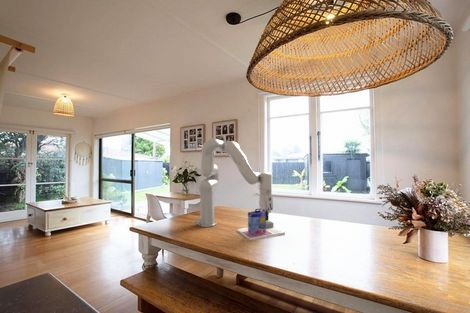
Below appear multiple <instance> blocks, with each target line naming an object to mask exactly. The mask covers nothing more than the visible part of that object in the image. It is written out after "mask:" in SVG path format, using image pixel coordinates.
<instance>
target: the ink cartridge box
mask: <svg viewBox="0 0 470 313" xmlns="http://www.w3.org/2000/svg"><path fill="white" fill-rule="evenodd" d="M247 228H248V233H250V234H251V235H256V234H262V233H266V212H264V211H262V210H261V208H260V207H259V208H255V210H253V211H248V212H247Z"/></svg>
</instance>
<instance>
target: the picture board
mask: <svg viewBox="0 0 470 313" xmlns="http://www.w3.org/2000/svg"><path fill="white" fill-rule="evenodd" d="M269 221H270V220H269ZM270 222H271V223H266V233H262V234H256V235H251V234H250V233H248V227H242V228H241V227H240V228H237V229H236V232H238V233H239V234H241V235H242V237H243V236H244V237H245V238H246V239H247V240H250V241H254V240H255V241H256V240H260V239H266V238H265V237H267V238H272V237H277V236H276V235H278V236H282V235H281V234H283V235H286V232H285V231H283V230H281V229H279V228H277V227H274V222H273V221H270ZM271 236H272V237H271Z"/></svg>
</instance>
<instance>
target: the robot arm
mask: <svg viewBox="0 0 470 313" xmlns="http://www.w3.org/2000/svg"><path fill="white" fill-rule="evenodd" d="M214 152H220V153H221V152H222V153H225V154H228V156H229V157H230V159H231V160H232V162H233V163H234V164H235V165H236V167H237V169H238V171H239V173H240V174H241V176H242V177H243V179H244V181H245V182H247V183H248V184H249V185H251V186H252V185H256V184H259V199H258V204H259V205H258V206H259V209H260V208H261V210H260V211H264V212H266V221H269V214H271V212H272V211H273V210H274V202H273V201H274V199H273V194H272V190H273V189H272V183H273V182H272V181H273V180H272V173H270V172H257V171H254V170H253V169H252V167H251V166H250V164H249V162H248V158H247V156H246V155H245V153H244V151H243V150H241V148H240V144H239V143H238V142H236V141H234V140H230V141H229V140H224V139H218V138H215V137H213V138H209V139H207V140H206V141H204V143H203V144H202V147H201V162H200V163H201V166H200V168H201V169H200V170H201V174H202V175H201V176H203V177H204V179H202V180H201V181H200V182H199V185H198V189H199V198H200V199H199V202H200V204H199V206H200V211H199V213H200V217H199V218H197V219H193V224H197V225H198V226H199V227H203V228H204V227H205V228H209V227H210V228H211V227H214V226H216V225H217V221H215V195H214V191H215V190H217V188H218V186H219V175H220V174H219V172H220V171H219V167H218V165H217V164H216V163H215V162H214V161H215V156H214Z"/></svg>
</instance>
